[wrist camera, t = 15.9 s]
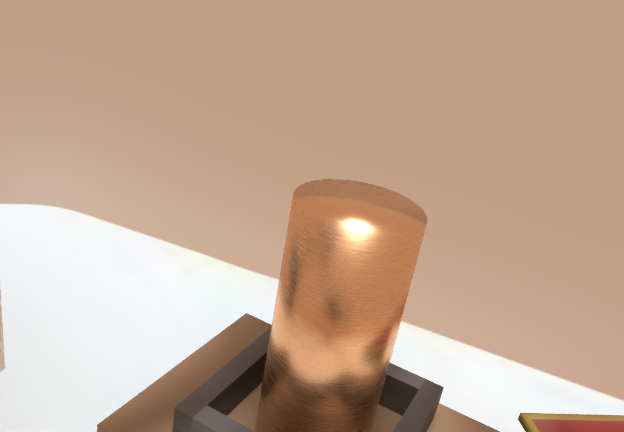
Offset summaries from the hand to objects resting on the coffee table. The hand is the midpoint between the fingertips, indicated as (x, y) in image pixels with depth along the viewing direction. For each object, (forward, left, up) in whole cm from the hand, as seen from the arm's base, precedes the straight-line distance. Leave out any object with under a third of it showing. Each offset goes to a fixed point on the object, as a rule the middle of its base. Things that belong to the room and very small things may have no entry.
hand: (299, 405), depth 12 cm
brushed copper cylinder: (-4, +13, -13) cm, 19 cm away
